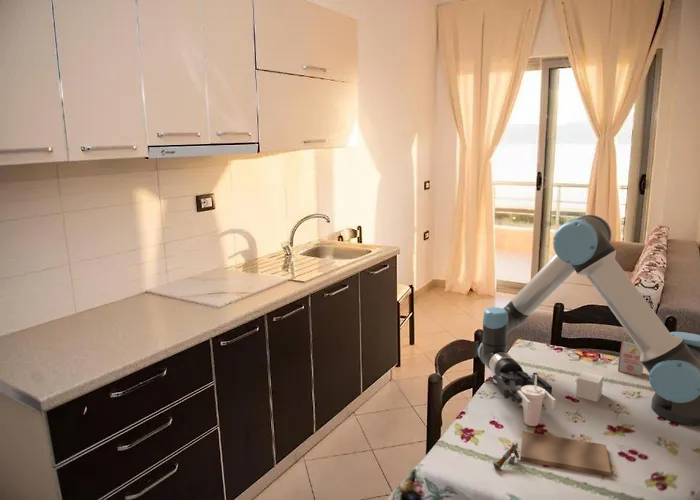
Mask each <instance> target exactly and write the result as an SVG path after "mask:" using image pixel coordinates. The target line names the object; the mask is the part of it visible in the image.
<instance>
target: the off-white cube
mask: <svg viewBox="0 0 700 500" xmlns="http://www.w3.org/2000/svg"><path fill="white" fill-rule="evenodd" d="M603 384H604V375H600V374H596V373H591V372H586V371H582V372H581V373H580V374H579V375H578V377H577V379H576V388H575V389H576V390H575V391H576V392H575V397H578V398H579V399H580V398H581V399H585V400H589V401H593V402H595V403H597V402H598V401H599V400H600V398H601V396H602V395H603Z"/></svg>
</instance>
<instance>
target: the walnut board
mask: <svg viewBox="0 0 700 500" xmlns="http://www.w3.org/2000/svg"><path fill="white" fill-rule="evenodd" d="M519 458H520V459H519V461H521V462H526V463H532V464H537V465H542V466H548V467H553V468H559V469H566V470H570V471H575V472H583V473H585V474H586V473H587V474H592V475H599V476H603V477H609V478H611V475H612V473H611V467H610V466H611V465H610V460H609V455H608V449H607V444H602V443H597V442H590V441H586V440H585V441H584V440H578V439H573V438H566V437H561V436H553V435H548V434H541V433H537V432H529V431H522V434H521V444H520V454H519Z"/></svg>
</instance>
